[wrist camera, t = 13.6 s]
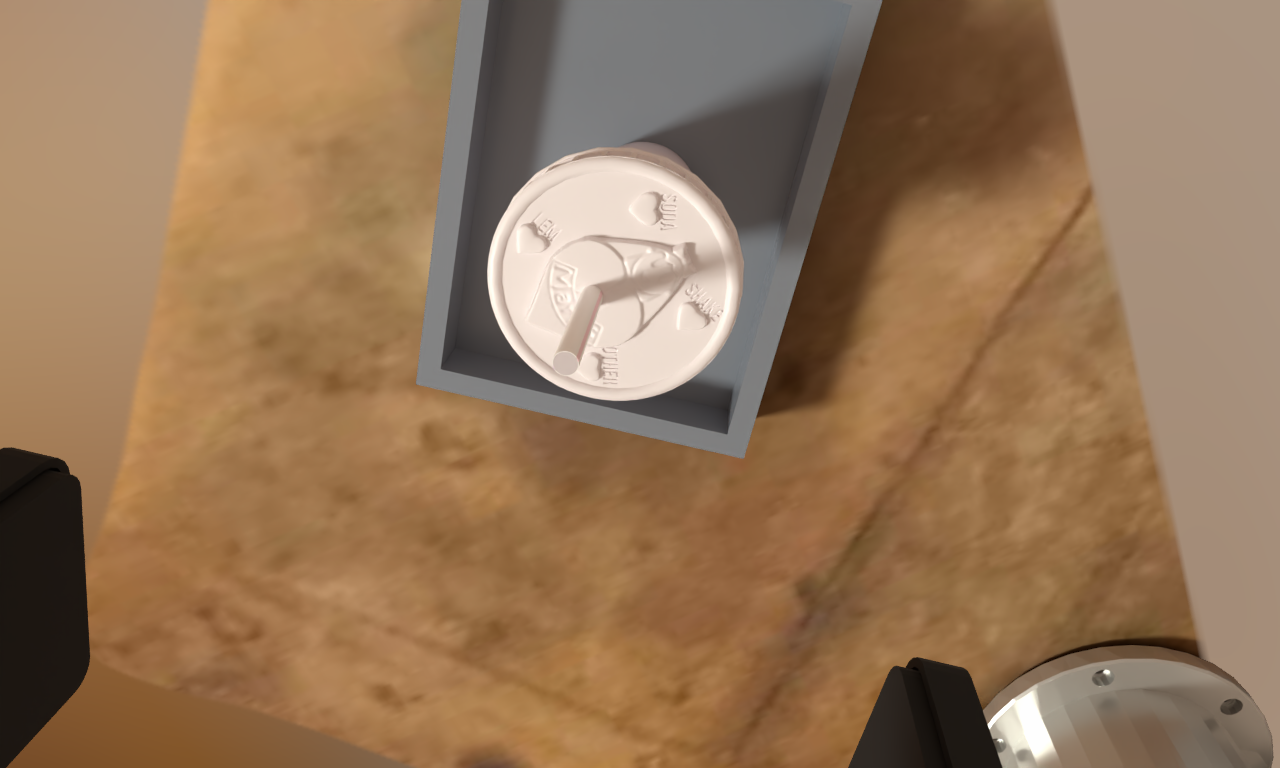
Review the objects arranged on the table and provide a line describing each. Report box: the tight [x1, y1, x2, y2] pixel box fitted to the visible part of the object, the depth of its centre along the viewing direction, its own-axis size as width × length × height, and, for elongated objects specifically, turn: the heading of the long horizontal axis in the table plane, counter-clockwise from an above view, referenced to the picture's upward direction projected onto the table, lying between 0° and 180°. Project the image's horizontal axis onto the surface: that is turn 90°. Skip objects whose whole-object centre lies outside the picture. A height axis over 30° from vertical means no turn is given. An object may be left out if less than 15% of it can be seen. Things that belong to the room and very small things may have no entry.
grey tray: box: [416, 0, 882, 459], centre depth 30 cm, size 12×16×3 cm
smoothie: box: [487, 142, 744, 401], centre depth 25 cm, size 6×6×14 cm
